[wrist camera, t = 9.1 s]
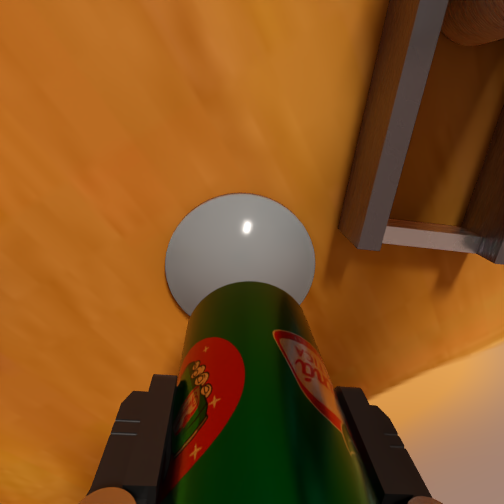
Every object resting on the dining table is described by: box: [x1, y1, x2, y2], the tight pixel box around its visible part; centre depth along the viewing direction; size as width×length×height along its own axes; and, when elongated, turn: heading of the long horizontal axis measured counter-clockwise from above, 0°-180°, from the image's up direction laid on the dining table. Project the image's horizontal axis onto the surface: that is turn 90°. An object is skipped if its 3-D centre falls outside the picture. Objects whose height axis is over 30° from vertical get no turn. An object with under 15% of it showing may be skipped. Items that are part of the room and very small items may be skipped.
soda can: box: [156, 281, 380, 504], centre depth 10 cm, size 5×5×12 cm
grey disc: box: [165, 193, 315, 316], centre depth 22 cm, size 9×9×1 cm
